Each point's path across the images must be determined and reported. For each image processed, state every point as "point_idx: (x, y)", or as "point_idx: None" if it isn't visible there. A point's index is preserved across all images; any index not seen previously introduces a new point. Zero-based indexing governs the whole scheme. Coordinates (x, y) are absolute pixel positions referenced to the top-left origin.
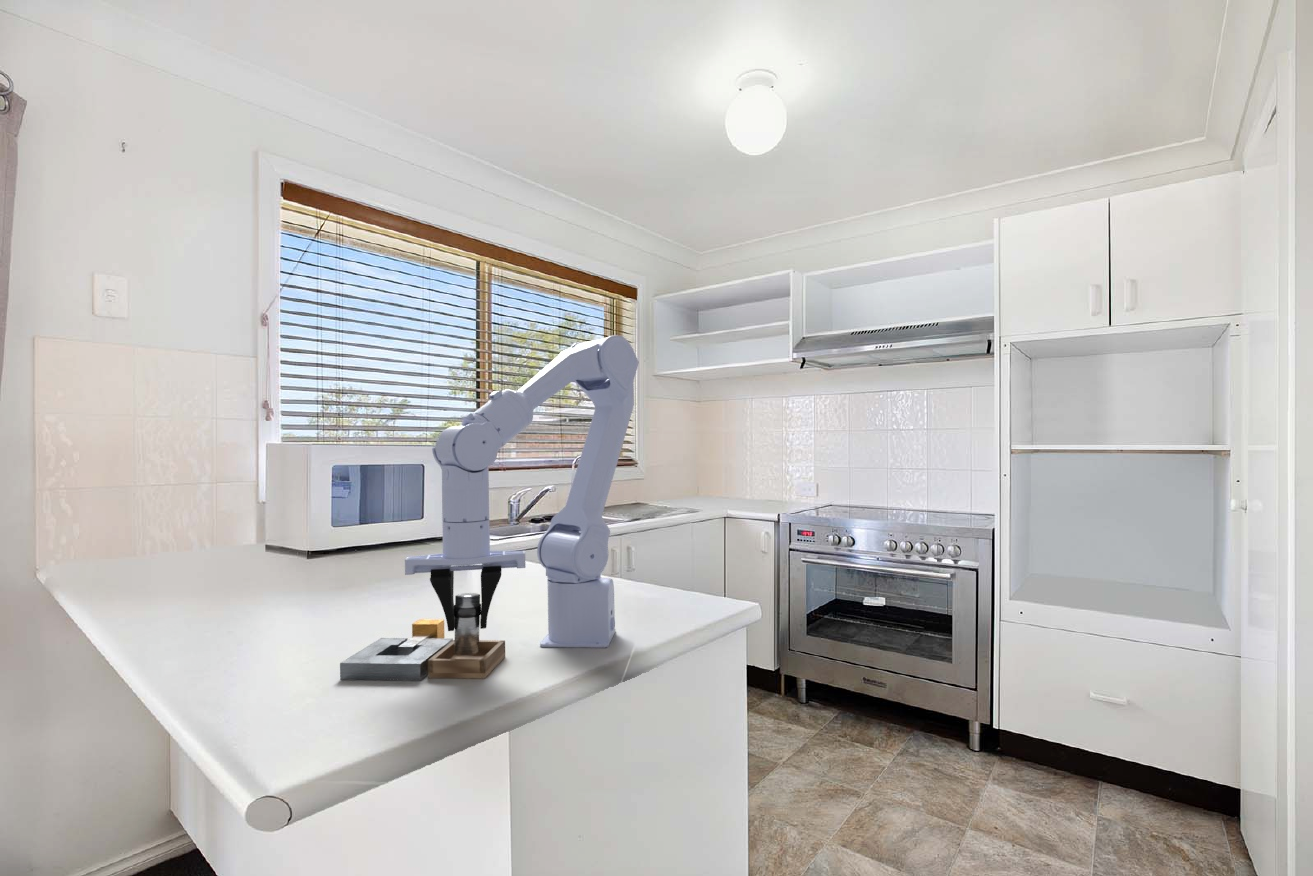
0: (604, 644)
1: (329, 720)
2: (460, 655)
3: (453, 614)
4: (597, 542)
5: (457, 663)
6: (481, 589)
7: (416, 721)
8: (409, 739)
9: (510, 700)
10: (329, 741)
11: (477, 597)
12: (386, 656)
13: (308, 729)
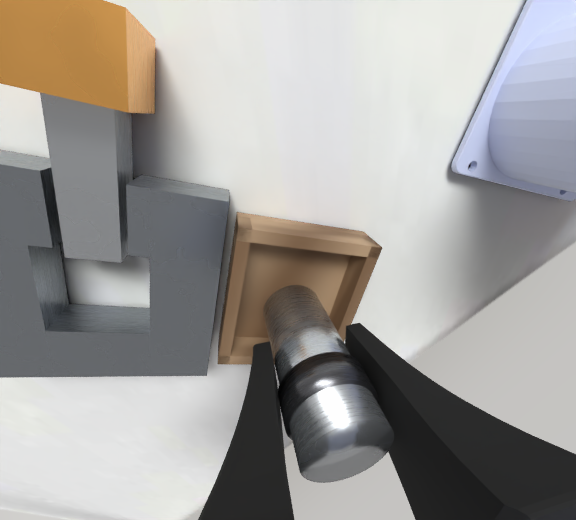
0: (572, 198)
1: (127, 450)
2: (263, 251)
3: (278, 402)
4: None
5: None
6: (414, 514)
7: None
8: None
9: None
10: (166, 479)
11: (381, 453)
12: (88, 338)
13: (115, 467)
